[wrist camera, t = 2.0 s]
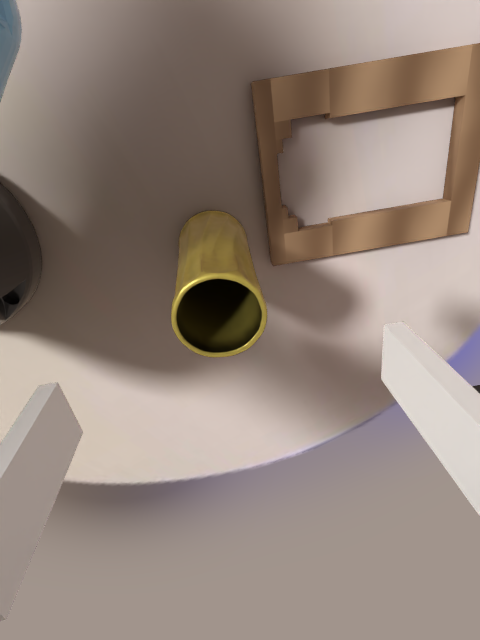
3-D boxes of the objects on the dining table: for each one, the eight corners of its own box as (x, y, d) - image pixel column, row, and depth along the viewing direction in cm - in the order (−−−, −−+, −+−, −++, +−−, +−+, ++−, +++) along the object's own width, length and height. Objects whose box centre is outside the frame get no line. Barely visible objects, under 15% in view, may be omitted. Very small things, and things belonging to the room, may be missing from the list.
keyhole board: (270, 261, 33) (273, 266, 32) (251, 83, 26) (253, 81, 25) (459, 229, 33) (467, 232, 32) (488, 43, 26) (499, 39, 25)
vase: (255, 263, 33) (288, 344, 20) (195, 285, 33) (189, 378, 20) (233, 199, 30) (255, 246, 17) (167, 225, 30) (141, 289, 18)
